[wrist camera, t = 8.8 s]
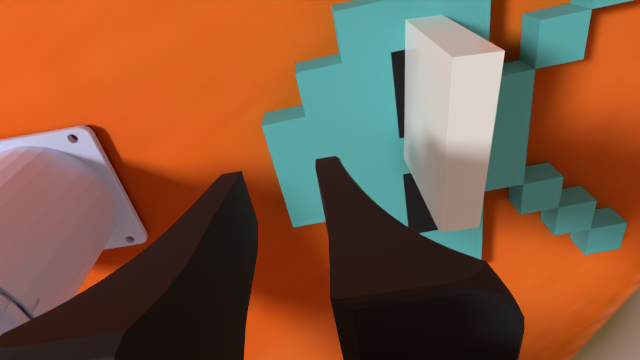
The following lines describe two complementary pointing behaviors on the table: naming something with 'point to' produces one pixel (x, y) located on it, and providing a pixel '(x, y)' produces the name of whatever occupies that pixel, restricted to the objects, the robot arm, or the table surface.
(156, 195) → the table surface
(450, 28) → the tile
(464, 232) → the alien figure
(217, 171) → the table surface
